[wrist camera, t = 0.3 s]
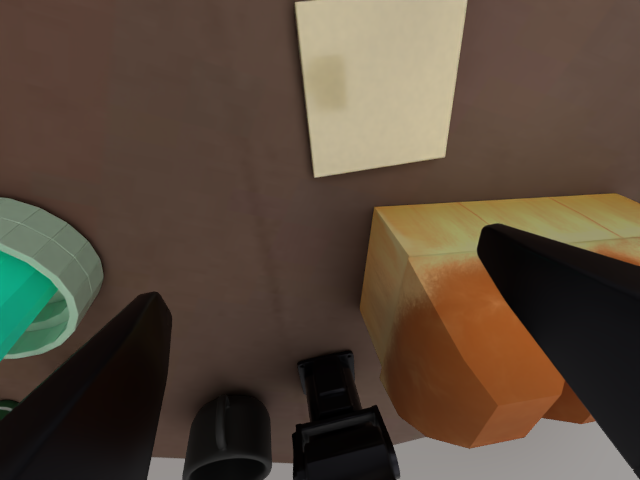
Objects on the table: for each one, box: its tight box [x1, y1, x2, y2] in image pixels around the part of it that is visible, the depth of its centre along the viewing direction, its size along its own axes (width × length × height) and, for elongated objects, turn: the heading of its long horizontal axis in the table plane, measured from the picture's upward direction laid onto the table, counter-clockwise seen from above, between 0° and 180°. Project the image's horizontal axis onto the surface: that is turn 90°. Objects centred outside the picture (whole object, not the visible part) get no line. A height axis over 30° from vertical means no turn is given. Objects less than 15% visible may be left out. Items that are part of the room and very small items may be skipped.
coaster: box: [294, 0, 468, 178], centre depth 19 cm, size 10×10×1 cm
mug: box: [183, 395, 272, 480], centre depth 33 cm, size 12×9×7 cm
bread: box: [360, 193, 640, 449], centre depth 24 cm, size 25×12×15 cm, turn 88°
